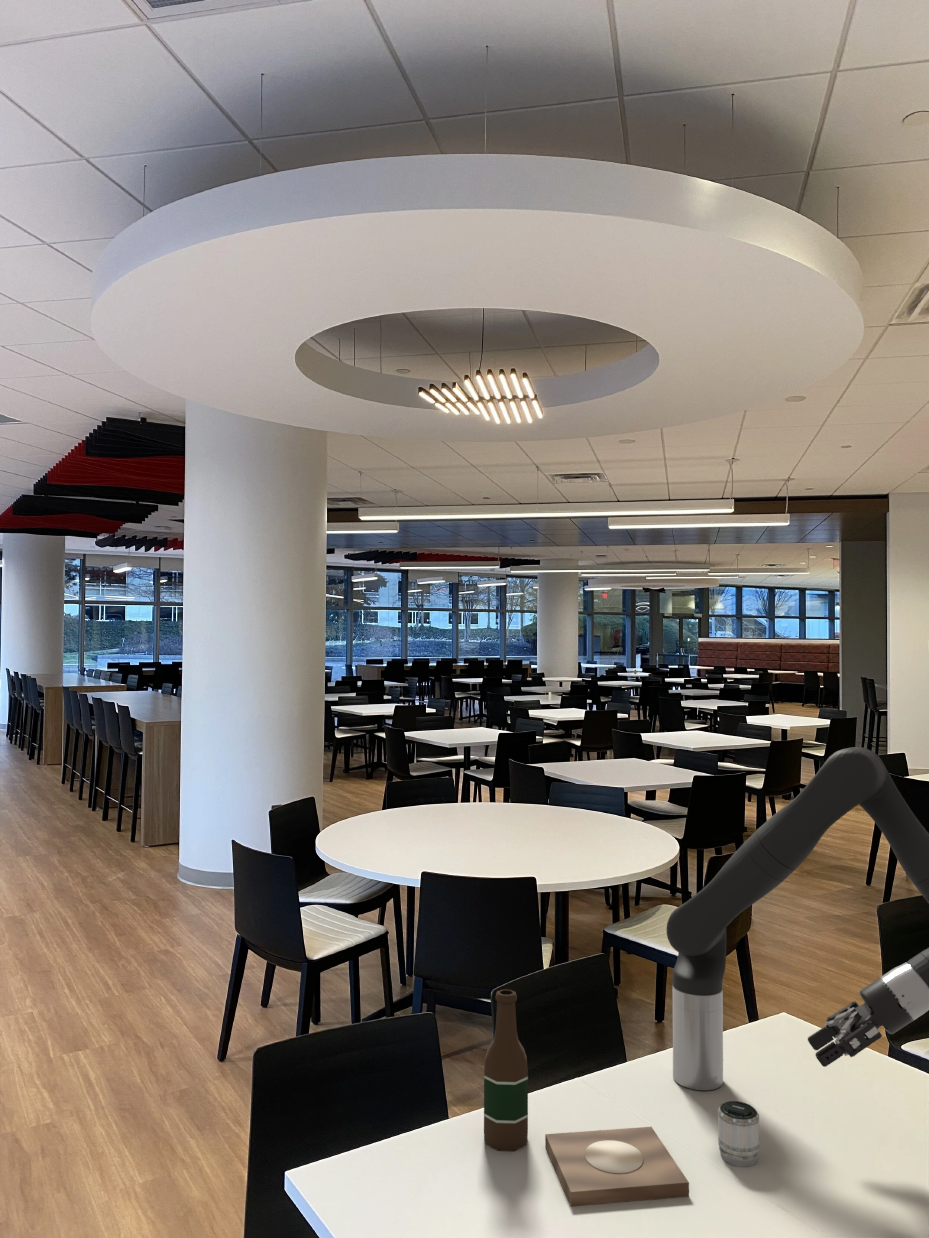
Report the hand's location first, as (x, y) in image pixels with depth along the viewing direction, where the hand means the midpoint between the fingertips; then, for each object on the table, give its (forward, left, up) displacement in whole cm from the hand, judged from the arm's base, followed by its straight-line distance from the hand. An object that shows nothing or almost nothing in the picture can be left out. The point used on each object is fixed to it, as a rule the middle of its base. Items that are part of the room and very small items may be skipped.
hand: (814, 1052), depth 147 cm
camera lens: (0, -13, -16) cm, 21 cm away
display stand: (+1, -34, -15) cm, 38 cm away
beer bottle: (-10, -49, -16) cm, 53 cm away
